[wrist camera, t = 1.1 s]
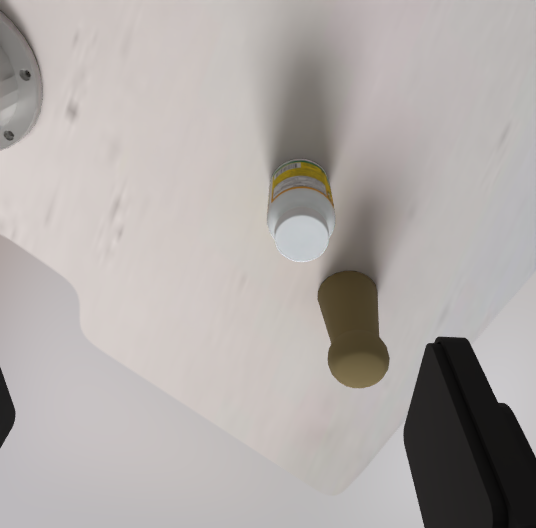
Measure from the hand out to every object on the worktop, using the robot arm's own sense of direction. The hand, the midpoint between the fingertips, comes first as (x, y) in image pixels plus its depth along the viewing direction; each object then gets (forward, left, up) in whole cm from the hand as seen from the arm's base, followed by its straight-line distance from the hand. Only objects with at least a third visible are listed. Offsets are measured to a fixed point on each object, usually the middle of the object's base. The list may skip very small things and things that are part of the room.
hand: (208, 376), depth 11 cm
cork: (+8, -22, -34) cm, 41 cm away
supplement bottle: (+3, -10, -34) cm, 35 cm away
